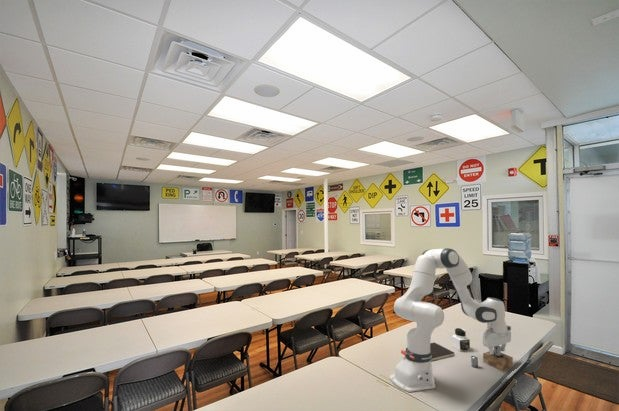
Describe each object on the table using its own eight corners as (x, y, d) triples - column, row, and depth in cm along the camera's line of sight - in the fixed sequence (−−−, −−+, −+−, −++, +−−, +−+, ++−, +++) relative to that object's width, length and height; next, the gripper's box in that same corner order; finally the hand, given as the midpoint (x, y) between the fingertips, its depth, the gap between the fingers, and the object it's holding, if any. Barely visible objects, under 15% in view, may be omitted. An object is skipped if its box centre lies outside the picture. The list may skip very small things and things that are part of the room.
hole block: (501, 370, 147) (501, 361, 147) (483, 362, 156) (483, 353, 156) (513, 366, 151) (512, 357, 151) (494, 358, 160) (494, 349, 160)
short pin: (475, 368, 149) (475, 359, 150) (470, 365, 152) (469, 356, 152) (479, 367, 150) (479, 357, 151) (473, 364, 153) (473, 355, 154)
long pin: (499, 366, 151) (498, 347, 152) (493, 363, 154) (492, 345, 155) (502, 365, 153) (501, 346, 153) (496, 362, 156) (495, 344, 156)
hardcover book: (454, 356, 164) (454, 352, 164) (425, 363, 155) (425, 359, 156) (433, 345, 179) (433, 341, 179) (405, 351, 170) (405, 347, 170)
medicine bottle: (460, 351, 169) (459, 331, 170) (452, 346, 176) (451, 327, 177) (470, 350, 170) (469, 330, 171) (461, 345, 177) (461, 326, 178)
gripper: (490, 332, 148) (491, 358, 147) (513, 326, 156) (514, 351, 155) (478, 328, 153) (479, 353, 152) (501, 322, 162) (502, 346, 161)
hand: (497, 352), depth 154 cm, fingers open, 8 cm apart
